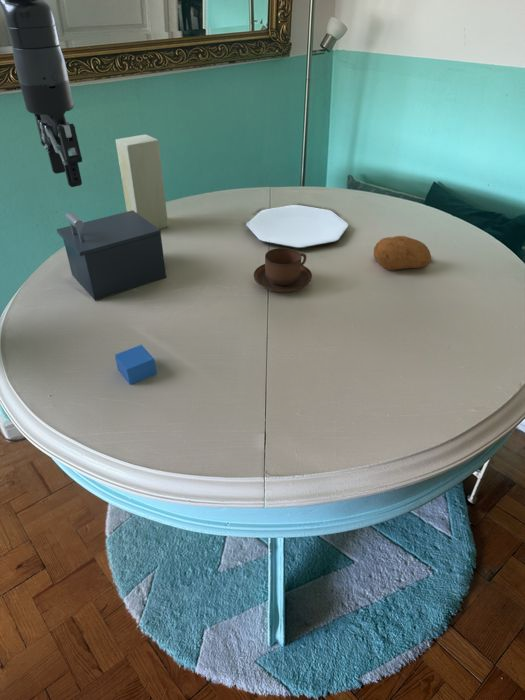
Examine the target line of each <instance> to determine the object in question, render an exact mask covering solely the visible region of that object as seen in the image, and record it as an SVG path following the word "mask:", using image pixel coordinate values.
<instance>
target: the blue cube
mask: <svg viewBox="0 0 525 700" xmlns="http://www.w3.org/2000/svg"><path fill="white" fill-rule="evenodd" d="M114 358H115V363H116V368H117V371H118V372H119V373H120V375H121V376H122V377H123V378H124V380H125V381H126V382H127V383H128V385H129V386H131V385H134V384H136V383H139V382H142V381H144V380H145V379H148V378H150V377H153V376H155V375H158V373H157V365H156V360H155V357H153V355H152V354H150V352H149V351H148V350H147V349H146V347H144V346H143V345H142V344H139V345H136V346H134V347H131V348H128V349H126V350H123V351H121V352H118V353H116V354H114Z"/></svg>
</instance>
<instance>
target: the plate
mask: <svg viewBox="0 0 525 700" xmlns="http://www.w3.org/2000/svg"><path fill="white" fill-rule="evenodd" d="M246 227H247V228H248V230H249V231H250V232H251V233H252V235H254V236H255V238H256V239H257V240H258V241H260V242H261V243H265V244H266V243H267V244H271V245H277V246H283V247H286V248H291V249H306V248H312V247H317V246H323V245H328V244H333V243H337V242H339V241H340V239H341V237H342V236H343V235H344V233H345V232H346V231H347V229H348V228H349V224H348V222H347V221H345V220H343V219H342V218H341V217H340V216H338V215H337V214H336V213H335V212H333V211H332V210H330V209H326V208H318V207H312V206H306V205H301V204H291V205H285V206H277V207H272V208H265V209H261V210H260V211H259V212H258V213H256V214H255V215H254V216H253V217H252V218H251V219H250V220H249V221H247V222H246Z"/></svg>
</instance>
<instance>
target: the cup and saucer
mask: <svg viewBox="0 0 525 700" xmlns="http://www.w3.org/2000/svg"><path fill="white" fill-rule="evenodd" d="M302 258H303V259H302ZM306 262H307V255H306V253H304V252H300V251H298V250H296V249H295V248H291V247H277V248H273V249H270V250H268V251H266V252H265V255H264V264H262V265H259V266H258V267H257V268H256V269H255V270H254V272H253V278H254V279H253V280H254V281H255V283H256V284H257V285H259V287H262V288H263V289H265V290H268V291H271V292H275V293H292V292H296V291H299V290H301V289H303V288H305V287H306V286H308V285H309V284H310V283H311V281H312V278H313V274H312V271H311V269H309V267H307V266H306V265H305V264H306Z"/></svg>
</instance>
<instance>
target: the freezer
mask: <svg viewBox="0 0 525 700" xmlns="http://www.w3.org/2000/svg"><path fill="white" fill-rule="evenodd" d="M62 240H63V243H64V249H65V252H66V256H67V260H68V265H69V268H70V271H71V276H72V277H73V278H74V279H75V280H76V281H77V283H79V284H80V286H81V287H82V288H83V289H84V290H85V291H86V292H87V294H88V295H89V296H90V297H91V298H92V299H93V300H94V301H95V302H97V301H98V300H99V301H100V300H102V299H105V298H109V297H111V296H114V295H117V294H121V293H123V292H126V291H129V290H132V289H135V288H139V287H141V286H145V285H148V284H151V283H154V282H157V281H160V280H163V279H166V278H167V271H166V264H165V256H164V249H163V242H162V241H163V239H162V234H158V235H154V236H151V237H147V238H144V239H140V240H137V241H133V242H129V243H126V244H122V245H119V246H115V247H112V248H108V249H104V250H101V251H97V252H94V253H90V254H87V255H83V256H80V255H79V254H78V253H77V252H76V251H75V250H74V249H73V248H72V247H71V246H70V245H69V244H68V243H67V242H66V241H65V240H64V239H63V238H62Z"/></svg>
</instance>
